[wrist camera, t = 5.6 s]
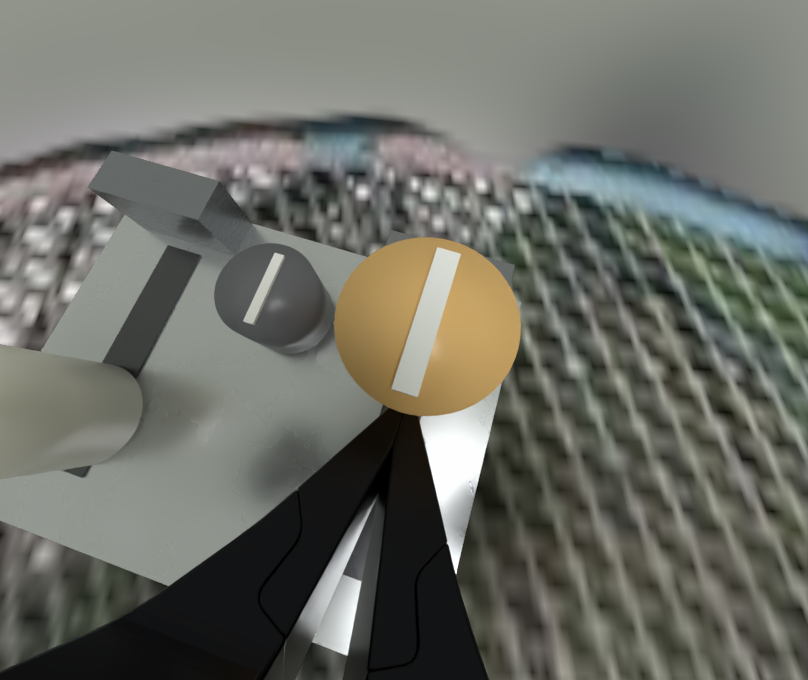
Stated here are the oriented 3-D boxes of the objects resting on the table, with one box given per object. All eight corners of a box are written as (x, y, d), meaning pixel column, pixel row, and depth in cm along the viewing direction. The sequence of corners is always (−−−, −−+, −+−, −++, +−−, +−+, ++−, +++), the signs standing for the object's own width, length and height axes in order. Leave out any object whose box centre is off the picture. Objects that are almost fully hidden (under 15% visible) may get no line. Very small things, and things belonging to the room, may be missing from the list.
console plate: (426, 662, 13) (437, 778, 9) (-14, 493, 14) (-183, 524, 10) (512, 310, 16) (549, 274, 12) (156, 205, 18) (84, 142, 14)
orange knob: (449, 429, 13) (498, 443, 6) (353, 398, 14) (303, 379, 7) (474, 336, 14) (541, 261, 7) (385, 309, 15) (369, 212, 8)
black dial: (315, 364, 14) (291, 350, 11) (237, 339, 15) (193, 319, 12) (345, 288, 15) (330, 256, 12) (270, 266, 16) (238, 229, 13)
